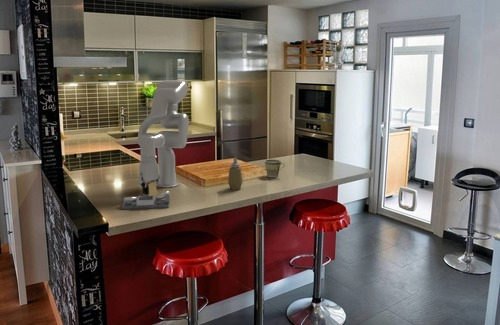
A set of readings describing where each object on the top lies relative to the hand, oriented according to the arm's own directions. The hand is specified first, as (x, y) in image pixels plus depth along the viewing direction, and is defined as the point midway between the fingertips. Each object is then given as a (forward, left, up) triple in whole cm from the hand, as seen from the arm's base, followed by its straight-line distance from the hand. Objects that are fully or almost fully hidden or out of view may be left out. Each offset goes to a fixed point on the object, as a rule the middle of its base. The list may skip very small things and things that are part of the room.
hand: (149, 192), depth 229 cm
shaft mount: (+11, -12, -2) cm, 16 cm away
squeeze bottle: (+26, +40, -2) cm, 48 cm away
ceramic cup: (+28, +78, -2) cm, 83 cm away
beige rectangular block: (0, 0, -2) cm, 2 cm away
